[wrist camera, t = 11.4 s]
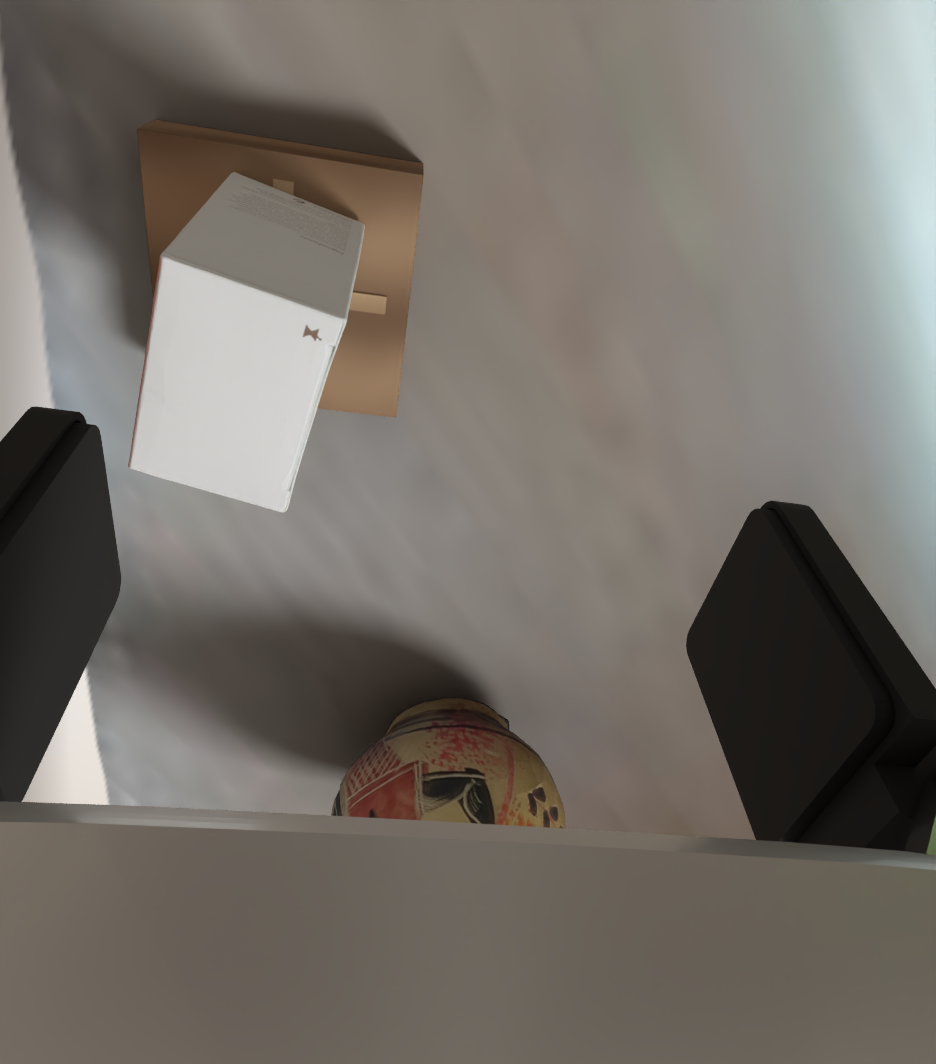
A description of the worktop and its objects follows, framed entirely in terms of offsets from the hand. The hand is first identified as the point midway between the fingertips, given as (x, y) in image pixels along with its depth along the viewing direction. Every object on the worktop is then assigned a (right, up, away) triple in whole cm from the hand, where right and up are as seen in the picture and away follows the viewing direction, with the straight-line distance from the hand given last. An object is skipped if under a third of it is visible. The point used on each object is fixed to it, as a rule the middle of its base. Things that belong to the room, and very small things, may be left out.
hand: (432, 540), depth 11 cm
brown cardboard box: (-8, +12, +23) cm, 27 cm away
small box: (-8, +11, +21) cm, 25 cm away
